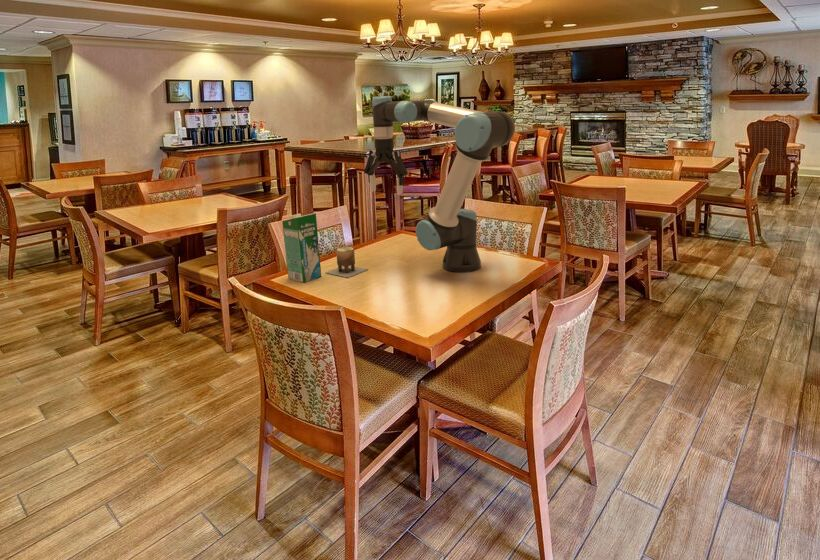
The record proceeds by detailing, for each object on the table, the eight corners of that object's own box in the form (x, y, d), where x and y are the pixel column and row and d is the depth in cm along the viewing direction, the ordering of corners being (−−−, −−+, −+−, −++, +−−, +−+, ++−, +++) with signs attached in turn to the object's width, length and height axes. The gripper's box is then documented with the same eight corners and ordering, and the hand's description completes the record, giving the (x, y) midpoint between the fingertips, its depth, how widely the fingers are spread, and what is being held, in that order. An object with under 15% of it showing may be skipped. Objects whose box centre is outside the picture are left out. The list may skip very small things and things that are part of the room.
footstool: (347, 274, 218) (345, 252, 215) (334, 271, 222) (332, 249, 219) (359, 269, 223) (357, 248, 220) (346, 267, 227) (344, 245, 224)
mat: (368, 270, 224) (368, 269, 224) (347, 278, 214) (347, 277, 214) (345, 265, 230) (345, 264, 230) (325, 273, 221) (325, 272, 221)
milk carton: (306, 272, 223) (300, 210, 215) (321, 276, 217) (316, 212, 210) (288, 278, 216) (281, 214, 208) (303, 283, 211) (297, 217, 203)
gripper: (415, 137, 214) (417, 193, 221) (365, 136, 229) (368, 189, 235) (403, 139, 209) (406, 196, 215) (353, 138, 223) (356, 191, 229)
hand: (386, 192), depth 225 cm, fingers open, 13 cm apart
